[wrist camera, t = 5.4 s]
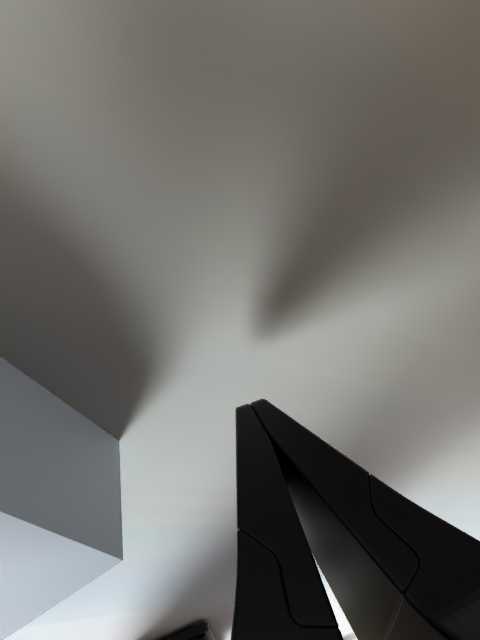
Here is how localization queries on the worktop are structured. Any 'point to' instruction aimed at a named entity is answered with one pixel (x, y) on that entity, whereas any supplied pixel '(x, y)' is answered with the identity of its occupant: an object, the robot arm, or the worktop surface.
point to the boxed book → (52, 500)
